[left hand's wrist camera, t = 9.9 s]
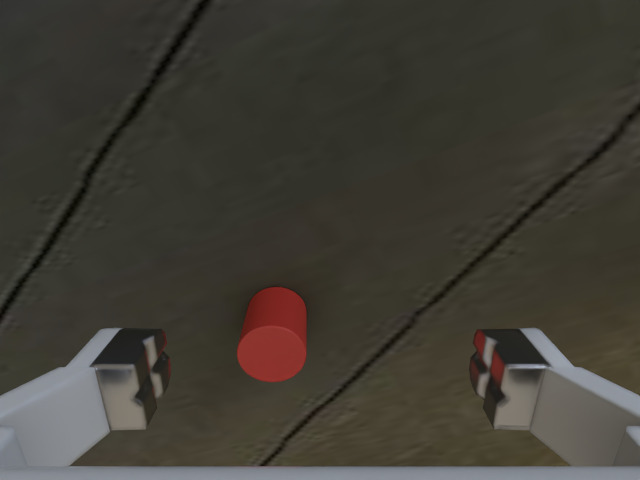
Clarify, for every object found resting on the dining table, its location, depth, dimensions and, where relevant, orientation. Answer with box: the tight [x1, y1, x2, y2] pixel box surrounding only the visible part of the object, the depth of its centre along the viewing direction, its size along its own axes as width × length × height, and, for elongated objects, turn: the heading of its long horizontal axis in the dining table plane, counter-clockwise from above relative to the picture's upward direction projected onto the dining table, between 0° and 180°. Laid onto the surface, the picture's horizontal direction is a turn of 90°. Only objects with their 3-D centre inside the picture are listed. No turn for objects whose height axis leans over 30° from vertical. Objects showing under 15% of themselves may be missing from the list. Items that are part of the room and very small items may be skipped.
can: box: [237, 287, 307, 382], centre depth 25 cm, size 4×4×4 cm
